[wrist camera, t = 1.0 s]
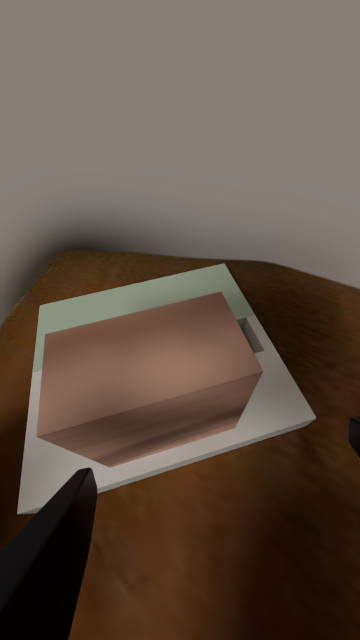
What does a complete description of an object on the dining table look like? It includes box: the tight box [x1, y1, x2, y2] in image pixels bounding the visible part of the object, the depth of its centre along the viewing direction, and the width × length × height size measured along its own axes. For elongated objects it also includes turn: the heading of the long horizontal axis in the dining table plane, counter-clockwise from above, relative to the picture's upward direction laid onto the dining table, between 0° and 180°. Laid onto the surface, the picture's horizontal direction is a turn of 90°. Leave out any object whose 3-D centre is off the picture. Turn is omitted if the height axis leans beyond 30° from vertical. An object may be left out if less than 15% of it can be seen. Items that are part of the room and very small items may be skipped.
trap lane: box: [17, 264, 316, 514], centre depth 24 cm, size 19×22×2 cm
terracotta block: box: [36, 292, 263, 468], centre depth 15 cm, size 5×10×10 cm, turn 105°
